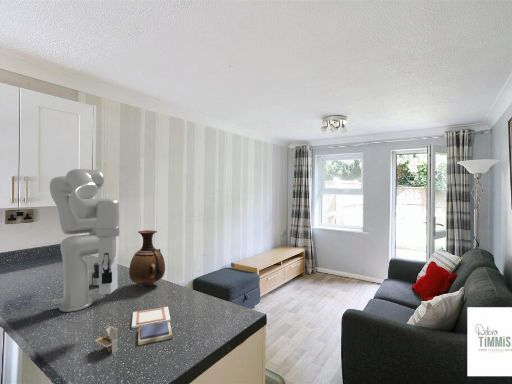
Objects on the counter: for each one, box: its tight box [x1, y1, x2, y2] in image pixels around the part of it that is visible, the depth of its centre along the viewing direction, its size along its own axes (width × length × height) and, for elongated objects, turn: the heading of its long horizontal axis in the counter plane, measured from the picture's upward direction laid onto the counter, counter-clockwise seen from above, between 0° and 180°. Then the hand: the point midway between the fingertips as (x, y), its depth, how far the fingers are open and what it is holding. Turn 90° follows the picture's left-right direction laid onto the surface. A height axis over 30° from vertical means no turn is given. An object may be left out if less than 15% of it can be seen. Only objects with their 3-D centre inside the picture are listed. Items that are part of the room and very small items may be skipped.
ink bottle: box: [91, 261, 99, 288], centre depth 150 cm, size 10×9×12 cm
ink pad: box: [137, 322, 173, 346], centre depth 97 cm, size 11×10×2 cm
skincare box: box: [98, 256, 119, 295], centre depth 101 cm, size 6×4×12 cm
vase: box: [128, 229, 166, 288], centre depth 147 cm, size 21×18×30 cm
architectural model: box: [94, 324, 118, 355], centre depth 88 cm, size 3×7×7 cm, turn 59°
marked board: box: [131, 306, 171, 329], centre depth 110 cm, size 14×13×1 cm
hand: (108, 279), depth 101 cm, fingers closed on skincare box, 6 cm apart
